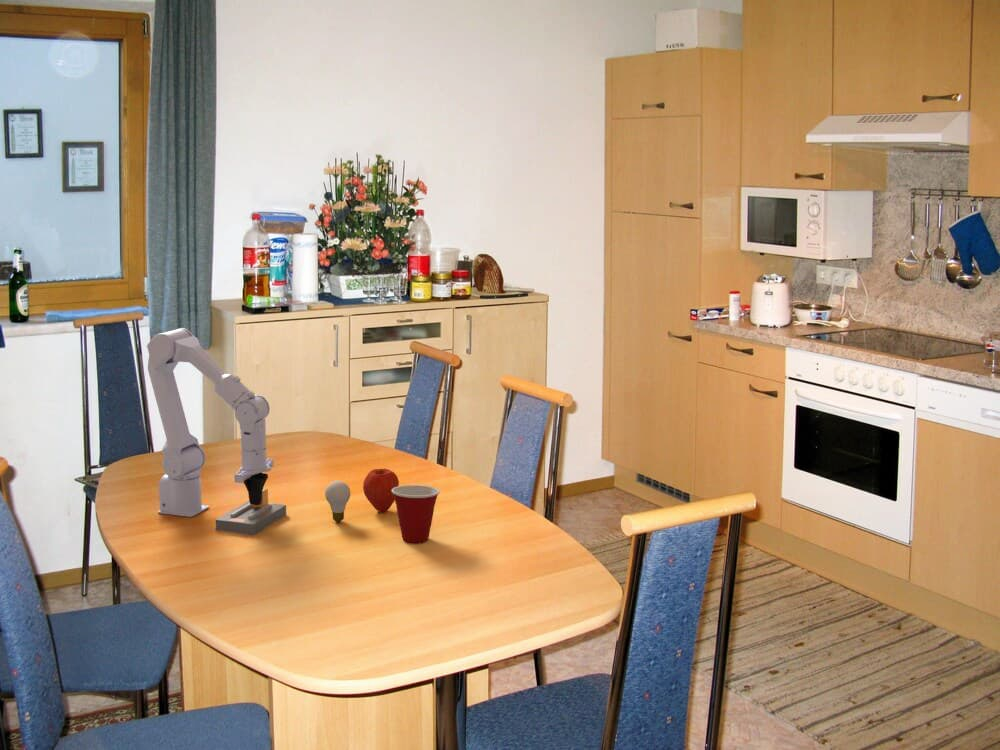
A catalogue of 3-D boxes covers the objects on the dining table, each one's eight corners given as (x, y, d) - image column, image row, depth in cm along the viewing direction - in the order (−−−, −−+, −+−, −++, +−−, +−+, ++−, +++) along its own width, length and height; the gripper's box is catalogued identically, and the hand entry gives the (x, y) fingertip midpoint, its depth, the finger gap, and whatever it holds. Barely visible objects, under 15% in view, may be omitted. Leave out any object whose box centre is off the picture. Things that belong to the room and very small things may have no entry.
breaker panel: (215, 529, 257) (215, 516, 256) (249, 510, 271) (249, 497, 270) (254, 534, 254) (253, 521, 253) (286, 514, 268) (285, 501, 267)
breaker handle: (251, 506, 265) (251, 490, 264) (257, 503, 267) (256, 487, 266) (263, 507, 264) (262, 491, 263) (268, 504, 266) (267, 488, 265)
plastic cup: (447, 534, 255) (447, 484, 253) (428, 550, 245) (428, 498, 243) (403, 529, 258) (403, 479, 256) (383, 544, 248) (383, 492, 246)
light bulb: (346, 526, 260) (345, 485, 258) (322, 525, 261) (321, 484, 259) (354, 518, 265) (353, 478, 263) (330, 517, 266) (329, 476, 264)
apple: (357, 514, 269) (356, 471, 266) (374, 504, 276) (373, 462, 274) (389, 519, 265) (388, 475, 263) (405, 508, 273) (405, 466, 271)
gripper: (252, 457, 253) (254, 515, 255) (284, 442, 266) (285, 496, 269) (225, 454, 255) (227, 511, 257) (257, 439, 268) (259, 493, 271)
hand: (255, 504), depth 263 cm, fingers closed
